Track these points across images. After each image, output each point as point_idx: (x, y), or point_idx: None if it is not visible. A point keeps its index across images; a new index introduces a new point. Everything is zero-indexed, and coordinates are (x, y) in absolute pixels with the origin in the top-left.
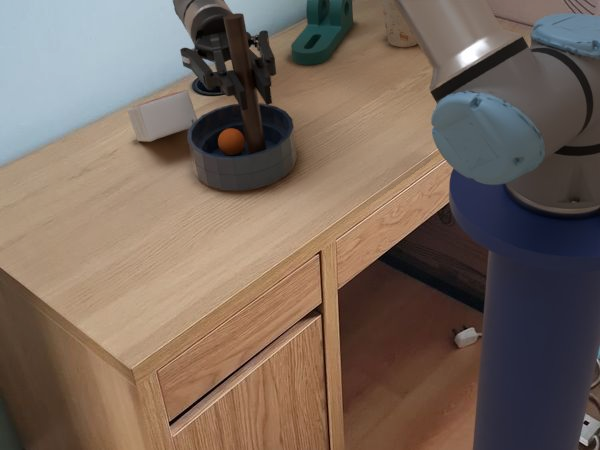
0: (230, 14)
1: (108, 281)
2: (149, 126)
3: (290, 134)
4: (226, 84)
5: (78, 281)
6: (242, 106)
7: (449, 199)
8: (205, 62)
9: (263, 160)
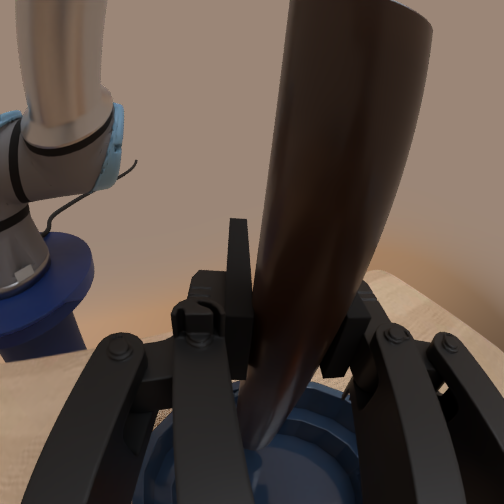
0: (399, 4)
1: (427, 326)
2: None
3: (170, 413)
4: (361, 284)
5: (450, 332)
6: None
7: (61, 315)
8: (488, 426)
9: None
